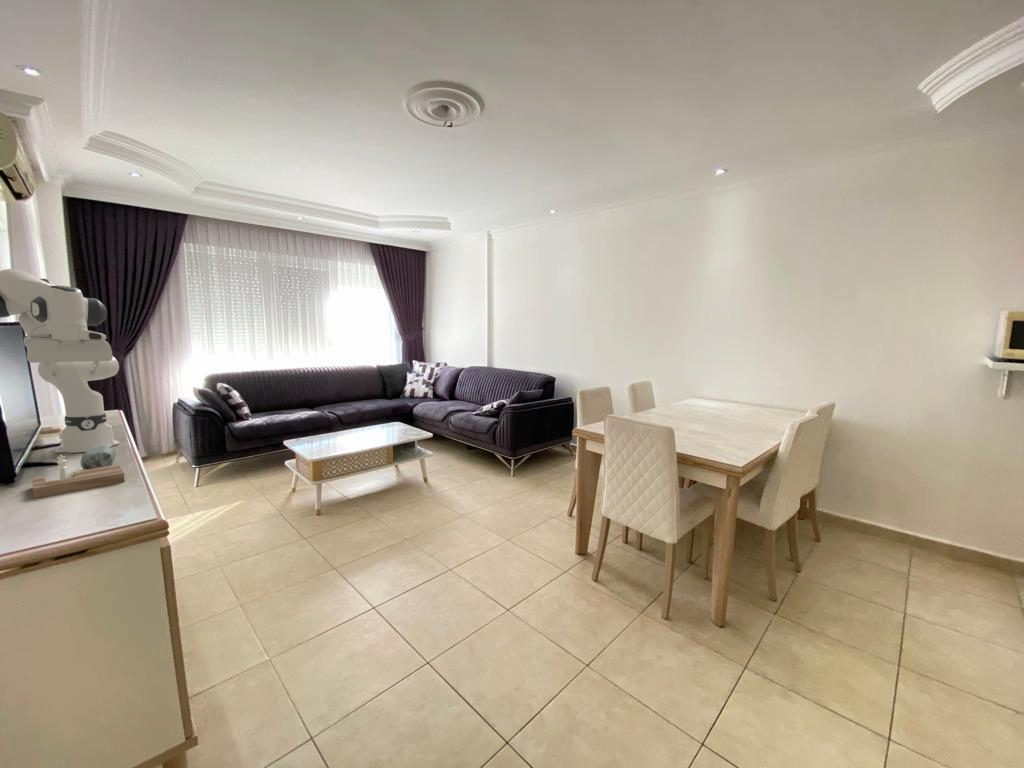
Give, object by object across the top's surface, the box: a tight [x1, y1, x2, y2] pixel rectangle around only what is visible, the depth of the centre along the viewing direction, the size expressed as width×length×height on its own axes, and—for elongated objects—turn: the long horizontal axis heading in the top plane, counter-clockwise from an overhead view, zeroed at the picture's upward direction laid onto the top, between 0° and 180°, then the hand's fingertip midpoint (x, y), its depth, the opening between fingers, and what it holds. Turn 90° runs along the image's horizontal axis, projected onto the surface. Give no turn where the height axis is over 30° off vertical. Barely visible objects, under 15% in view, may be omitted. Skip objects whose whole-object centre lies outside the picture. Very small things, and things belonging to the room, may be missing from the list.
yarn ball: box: [80, 446, 117, 470], centre depth 150 cm, size 14×10×10 cm
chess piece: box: [57, 454, 68, 480], centre depth 134 cm, size 5×5×10 cm
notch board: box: [31, 464, 125, 499], centre depth 136 cm, size 12×20×3 cm, turn 139°
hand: (73, 374), depth 144 cm, fingers open, 8 cm apart
